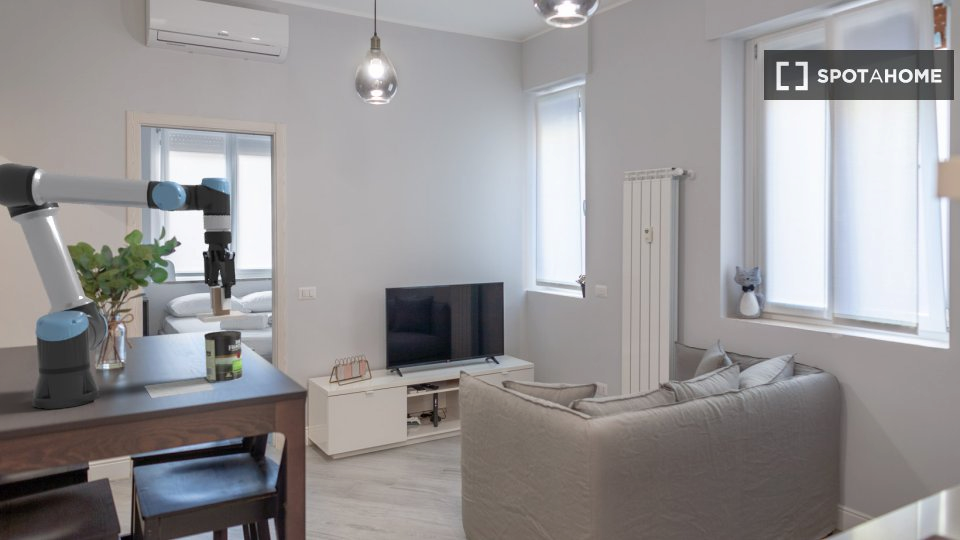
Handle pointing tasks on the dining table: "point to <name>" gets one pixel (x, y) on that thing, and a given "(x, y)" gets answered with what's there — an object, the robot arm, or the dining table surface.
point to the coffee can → (223, 356)
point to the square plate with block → (219, 310)
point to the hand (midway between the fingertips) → (221, 308)
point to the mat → (178, 388)
